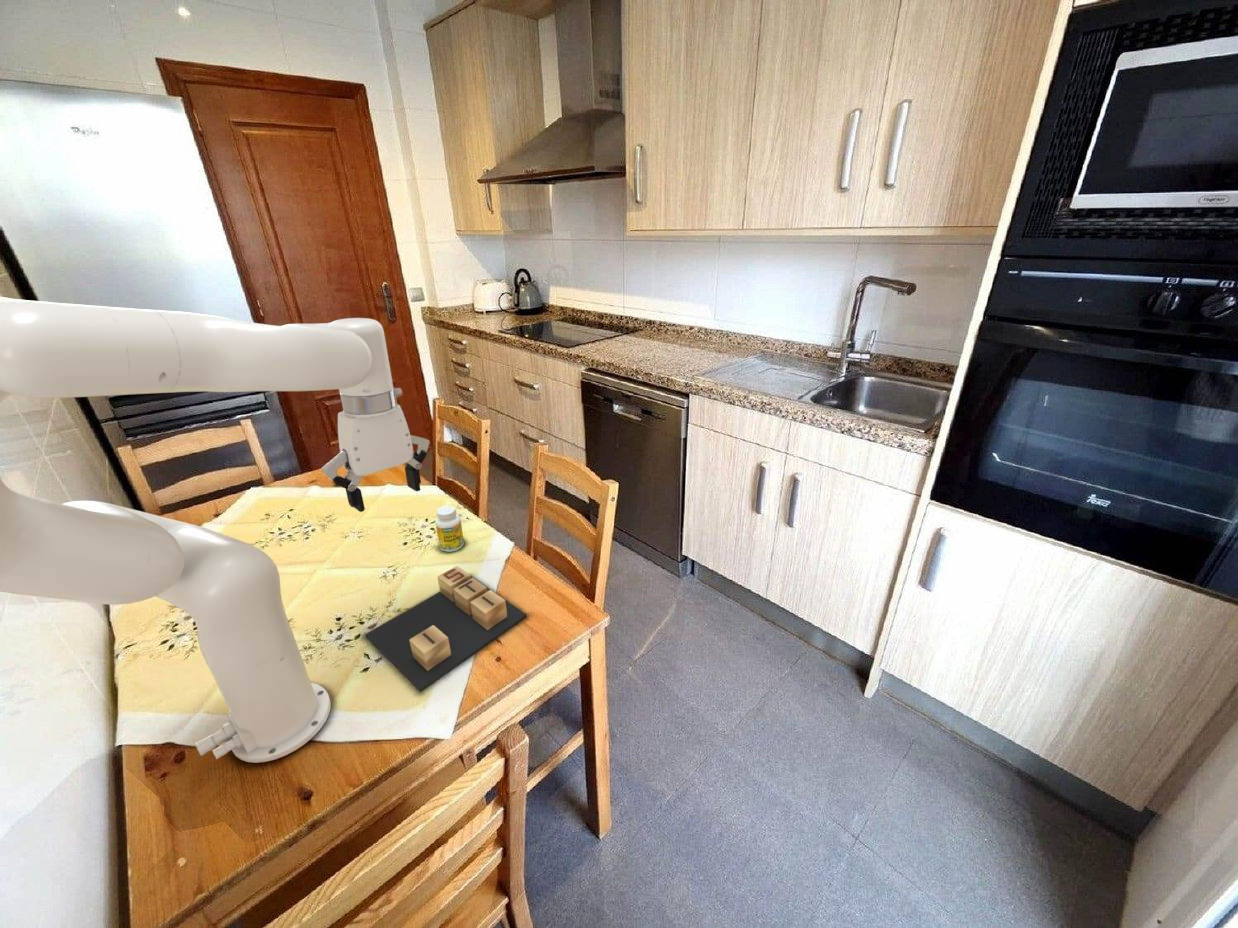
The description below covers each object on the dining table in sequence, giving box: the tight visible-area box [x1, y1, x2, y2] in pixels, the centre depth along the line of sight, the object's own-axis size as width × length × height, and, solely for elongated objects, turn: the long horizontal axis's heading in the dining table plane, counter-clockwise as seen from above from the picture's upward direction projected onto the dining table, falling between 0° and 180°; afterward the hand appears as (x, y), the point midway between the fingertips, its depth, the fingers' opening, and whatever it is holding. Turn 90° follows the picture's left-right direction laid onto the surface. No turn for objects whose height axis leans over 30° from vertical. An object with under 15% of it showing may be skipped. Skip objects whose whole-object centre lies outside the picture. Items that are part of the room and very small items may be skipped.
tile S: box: [437, 565, 472, 602], centre depth 99 cm, size 4×4×4 cm
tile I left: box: [409, 625, 451, 671], centre depth 84 cm, size 4×4×4 cm
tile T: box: [453, 577, 488, 616], centre depth 96 cm, size 4×4×4 cm
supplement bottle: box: [434, 505, 465, 553], centre depth 113 cm, size 5×5×10 cm
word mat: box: [365, 575, 528, 693], centre depth 92 cm, size 22×18×1 cm
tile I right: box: [470, 589, 507, 630], centre depth 93 cm, size 4×4×4 cm
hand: (387, 498), depth 85 cm, fingers open, 9 cm apart
